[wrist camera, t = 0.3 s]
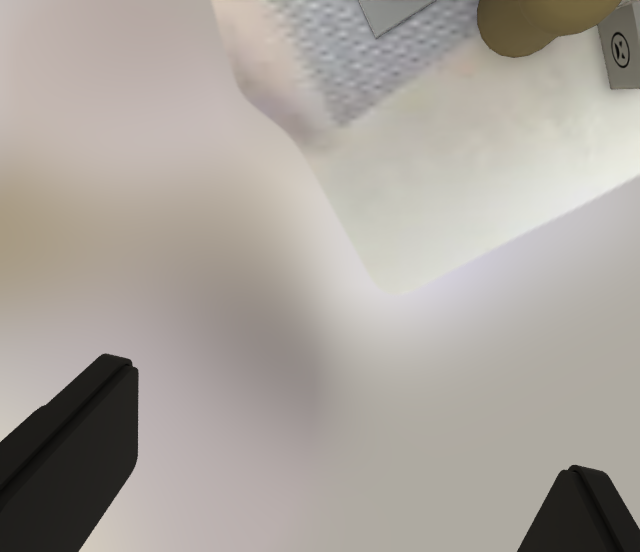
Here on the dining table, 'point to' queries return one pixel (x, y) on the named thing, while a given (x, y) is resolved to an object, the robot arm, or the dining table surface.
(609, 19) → the dice cube
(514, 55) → the brown round-headed peg
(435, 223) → the dining table surface
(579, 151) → the dining table surface
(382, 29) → the ring board
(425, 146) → the dining table surface
